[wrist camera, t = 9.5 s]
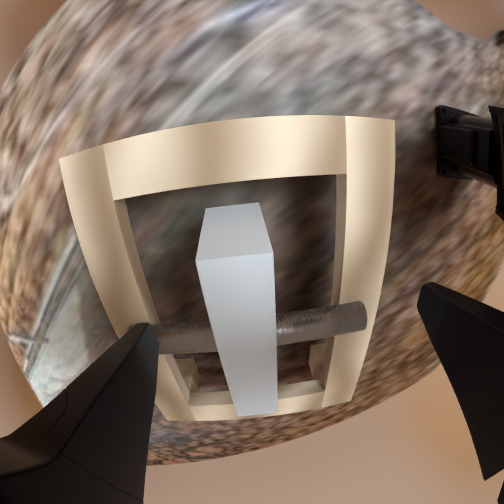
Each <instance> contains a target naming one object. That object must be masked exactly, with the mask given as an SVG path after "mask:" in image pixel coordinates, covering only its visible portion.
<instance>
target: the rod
mask: <svg viewBox="0 0 504 504" xmlns="http://www.w3.org/2000/svg"><path fill="white" fill-rule="evenodd" d="M133 326H134V325H131V326H129V328H128V331H129V330H130V329H131V328H132V327H133ZM151 326H152V328H153V330H154V332H155V335H156V337H157V339H158V342H159V354H189V353H207V352H218V349H217V346H216V342H215V338H214V335H213V331H212V327H211V323H210V321H197V322H183V323H166V324H151ZM366 327H367V311H366V308H365V306H364V304H363V302H362V301H356V302H350V303H345V304H337V305H331V306H325V307H319V308H312V309H306V310H299V311H291V312H284V313H276V342H277V346H278V345H285V344H292V343H299V342H305V341H311V340H317V339H323V338H328V337H334V336H339V335H344V334H349V333H354V332H358V331H363V330H365V329H366ZM128 331H127V332H128Z"/></svg>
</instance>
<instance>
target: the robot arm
mask: <svg viewBox="0 0 504 504" xmlns="http://www.w3.org/2000/svg"><path fill="white" fill-rule="evenodd" d="M488 107H489V112H491V118H492V119H491V118H484V117H480V116H477V115H474V114H471V113H468V112H465V111H462V110H458V109H455V108H451V107H448V106H444V105H439V106H438V108H437V113H438V162H437V174H438V175H439V176H441V177H447V178H463V179H475V180H477V181H480V182H482V183H485V184H487V185H489V186H492V187H494V188H496V189H497V206H496V211H495V213H496V214H497V215H498V216H499V217H500V218H501V219H502V220H503V221H504V105H488ZM442 109H443V112H442ZM442 170H443V172H442ZM417 309H418V312H419V314H420V316H421V318H422V321H423V323H424V326H425V328H426V330H427V333H428V335H429V338H430V340H431V343H432V345H433V347H434V349H435V351H436V353H437V355H438V357H439V359H440V361H441V363H442V365H443V367H444V370H445V372H446V374H447V376H448V378H449V381H450V383H451V385H452V387H453V390H454V392H455V394H456V397H457V399H458V402H459V404H460V406H461V409H462V411H463V414H464V417H465V420H466V422H467V425H468V428H469V431H470V434H471V436H472V440H473V443H474V447H475V449H476V453H477V456H478V460H479V464H480V467H481V471H482V475H483V479H484V480H487V479H489V478H490V477H492V476H493V475H495V474H497V473H498V472H499V471H501V470H503V469H504V312H502V311H500V310H497V309H495V308H493V307H491V306H489V305H486V304H484V303H482V302H479V301H477V300H475V299H473V298H470V297H468V296H466V295H463V294H461V293H459V292H456V291H454V290H451V289H449V288H447V287H444V286H442V285H439V284H437V283H434V282H429V283H425V284H423V285H422V287H421V291H420V294H419V298H418V302H417ZM158 358H159V342H158V339H157V337H156V335H155V332H154V330H153V328H152V326H151V324H150V323H148V322H144V323H137V324H136V325H134V326H133V327H132V328H131V329H130V330H129V331H128V332H127V333H125V334H124V335H123V336H122V337H121V338H120V339H119V340H118V341H117V342H115V343H114V344H113V345H112V346H111V347H110V348H109V349H108V350H107V351H105V352H104V353H103V354H102V355H101V356H100V357H99V358H98V359H97V360H96V361H94V362H93V363H92V364H91V365H90V366H89V367H88V368H87V369H86V370H85V371H83V372H82V373H81V374H80V375H79V376H78V377H77V378H76V379H75V380H74V381H73V382H72V383H70V384H69V385H68V386H67V387H66V389H64V390H63V391H62V392H61V393H60V394H59V395H58V396H57V397H55V398H54V399H53V400H52V401H51V402H50V403H49V404H48V405H47V406H45V407H44V408H43V409H42V410H40V411H39V412H38V413H37V414H36V415H34V416H33V417H32V418H31V419H29V420H28V421H27V422H25V423H24V424H23V425H22V426H20V427H19V428H18V429H17V430H15V431H14V432H13V433H11V434H10V435H8V436H5V437H3V438H0V504H143V498H144V484H145V473H146V463H147V454H148V445H149V437H150V429H151V422H152V415H153V409H154V402H155V396H156V389H157V374H158ZM497 501H498V504H504V482H503V485H502V488H501V491H500V494H499V497H498V500H497Z"/></svg>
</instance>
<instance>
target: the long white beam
mask: <svg viewBox="0 0 504 504" xmlns="http://www.w3.org/2000/svg"><path fill="white" fill-rule="evenodd" d="M196 266H197V270H198V274H199V279H200V283H201V287H202V291H203V296H204V300H205V304H206V308H207V312H208V316H209V319H210V323H211V327H212V331H213V335H214V338H215V342H216V346H217V349H218V353H219V356H220V360H221V363H222V367H223V370H224V374H225V377H226V380H227V384H228V387H229V390H230V393H231V397H232V400H233V403H234V406H235V409H236V412H237V415H238V416H250V415H260V414H269V413H276V412H278V390H277V342H276V309H275V282H274V259H273V250H272V246H271V243H270V239H269V236H268V232H267V229H266V226H265V222H264V219H263V215H262V212H261V208H260V205H259V202H258V203H248V204H239V205H230V206H221V207H213V208H206V209H205V214H204V219H203V224H202V229H201V234H200V239H199V244H198V250H197V255H196Z"/></svg>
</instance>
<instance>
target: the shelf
mask: <svg viewBox="0 0 504 504" xmlns="http://www.w3.org/2000/svg"><path fill="white" fill-rule="evenodd" d="M59 161H60V166H61V172H62V177H63V182H64V186H65V191H66V195H67V200H68V204H69V208H70V212H71V215H72V219H73V223H74V226H75V230H76V233H77V236H78V239H79V243H80V246H81V249H82V252H83V255H84V258H85V261H86V263H87V266H88V269H89V272H90V274H91V277H92V280H93V282H94V285H95V287H96V290H97V292H98V295H99V297H100V300H101V302H102V304H103V307H104V309H105V311H106V313H107V316H108V318H109V320H110V322H111V324H112V326H113V328H114V330H115V333H116V335H117V337H118V339H120V338H121V337H122V336H123V335H124V334H125V333H127V331H128V328H129V326H131V325H136V324H137V323H144V322H148V323H150V324H161V322H160V320H159V317H158V314H157V311H156V308H155V306H154V303H153V300H152V297H151V294H150V291H149V288H148V284H147V281H146V278H145V275H144V271H143V268H142V265H141V261H140V258H139V254H138V251H137V247H136V243H135V240H134V236H133V232H132V228H131V224H130V220H129V215H128V211H127V207H126V202H125V198H129V197H134V196H140V195H145V194H151V193H157V192H163V191H169V190H175V189H182V188H189V187H196V186H203V185H211V184H219V183H228V182H236V181H246V180H256V179H267V178H279V177H293V176H310V175H331V174H336V181H337V193H336V236H335V256H334V272H333V285H332V297H331V305H337V304H345V303H350V302H356V301H362V302H363V304H364V306H365V308H366V311H367V327H366V329H365V330H363V331H358V332H354V333H349V334H344V335H339V336H334V337H328V338H327V342H326V343H321V344H315V345H310V355H309V366H310V370H311V373H312V376H313V380H312V381H306V382H300V383H294V384H288V385H281V386H277V390H278V412H276V413H269V414H260V415H250V416H238V415H237V412H236V409H235V406H234V403H233V400H232V397H231V393H230V391H221V392H198V390H199V377H200V375H199V372H198V370H197V367H196V364H195V361H194V358H180V359H175V358H174V356H173V354H159V358H158V374H157V389H156V396H155V403H156V405H157V406H158V408H159V409H160V411H161V412H162V414H163V415H164V416H165V418H166V419H167V420H172V421H214V420H234V419H247V418H257V417H266V416H275V415H282V414H289V413H295V412H301V411H307V410H312V409H317V408H322V407H327V406H331V405H336V404H340V403H344V402H348V401H351V399H352V396H353V393H354V390H355V387H356V384H357V381H358V378H359V375H360V372H361V368H362V365H363V362H364V358H365V355H366V352H367V348H368V344H369V341H370V337H371V333H372V329H373V325H374V321H375V316H376V312H377V308H378V303H379V298H380V293H381V288H382V283H383V277H384V271H385V265H386V259H387V252H388V245H389V237H390V229H391V219H392V208H393V195H394V177H395V120H389V119H380V118H368V117H353V116H326V115H298V116H271V117H255V118H243V119H233V120H224V121H216V122H208V123H201V124H194V125H188V126H182V127H176V128H171V129H166V130H161V131H156V132H151V133H147V134H142V135H138V136H134V137H130V138H126V139H122V140H118V141H114V142H111V143H107V144H104V145H100V146H97V147H93V148H90V149H87V150H84V151H81V152H78V153H75V154H72V155H69V156H66V157H63V158H61V159H59Z"/></svg>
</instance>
